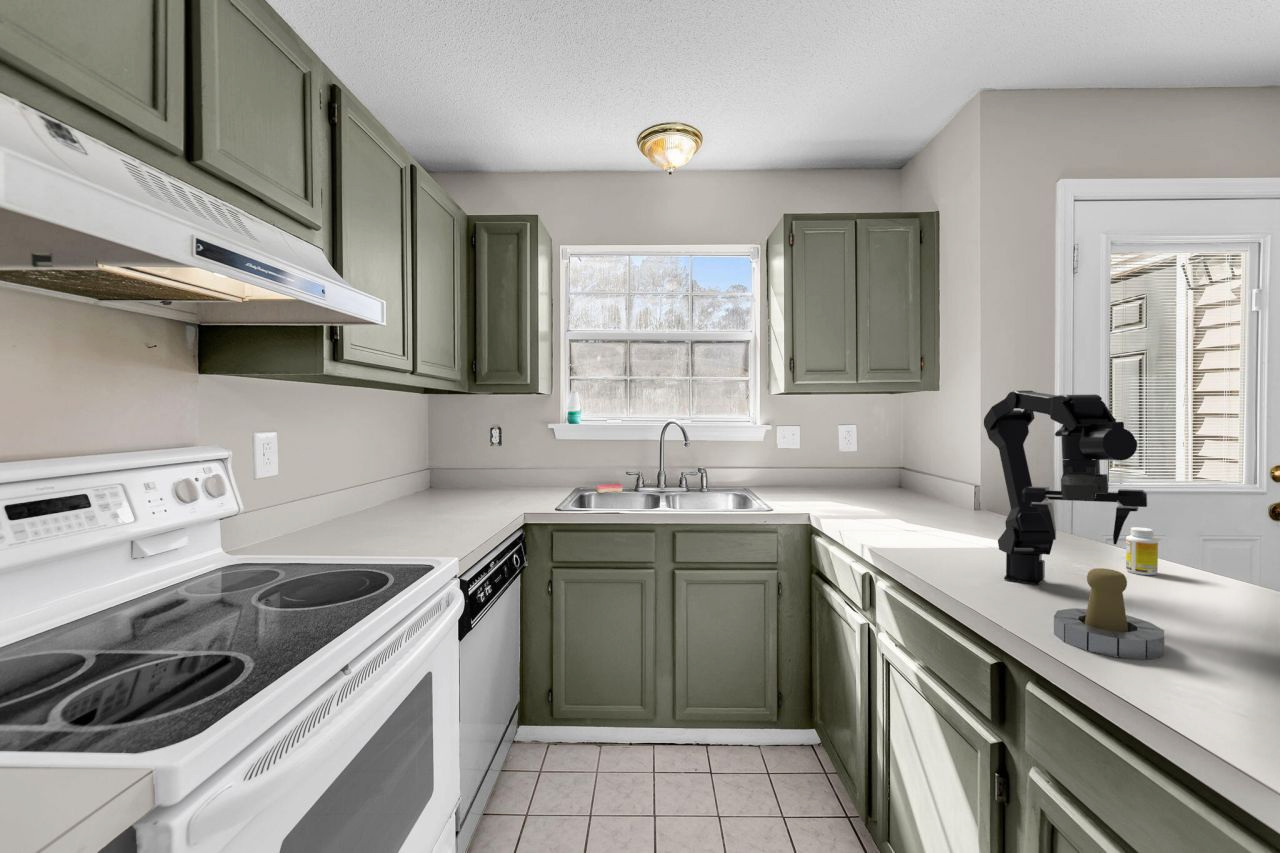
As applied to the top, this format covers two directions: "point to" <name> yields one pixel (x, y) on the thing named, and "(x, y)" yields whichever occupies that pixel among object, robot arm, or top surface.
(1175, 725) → the top surface
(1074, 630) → the ring
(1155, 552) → the supplement bottle
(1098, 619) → the cork
